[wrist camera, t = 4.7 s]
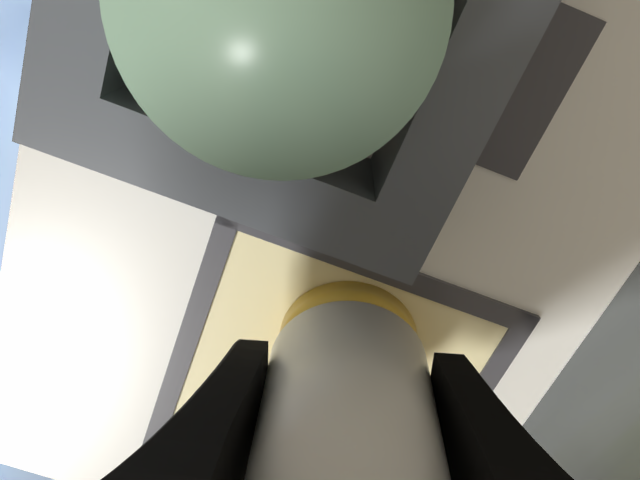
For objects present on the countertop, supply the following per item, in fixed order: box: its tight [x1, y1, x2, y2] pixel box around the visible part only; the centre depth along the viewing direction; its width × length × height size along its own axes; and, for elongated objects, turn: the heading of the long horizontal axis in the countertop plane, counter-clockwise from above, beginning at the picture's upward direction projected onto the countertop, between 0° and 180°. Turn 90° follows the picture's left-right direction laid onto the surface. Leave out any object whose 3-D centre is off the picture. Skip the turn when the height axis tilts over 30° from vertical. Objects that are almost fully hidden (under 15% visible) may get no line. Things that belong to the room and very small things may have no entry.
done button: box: [99, 0, 454, 181], centre depth 8 cm, size 4×4×3 cm
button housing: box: [12, 0, 561, 286], centre depth 9 cm, size 7×7×2 cm
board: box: [0, 0, 640, 480], centre depth 13 cm, size 18×13×1 cm
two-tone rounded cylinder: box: [244, 281, 451, 480], centre depth 10 cm, size 4×4×7 cm
